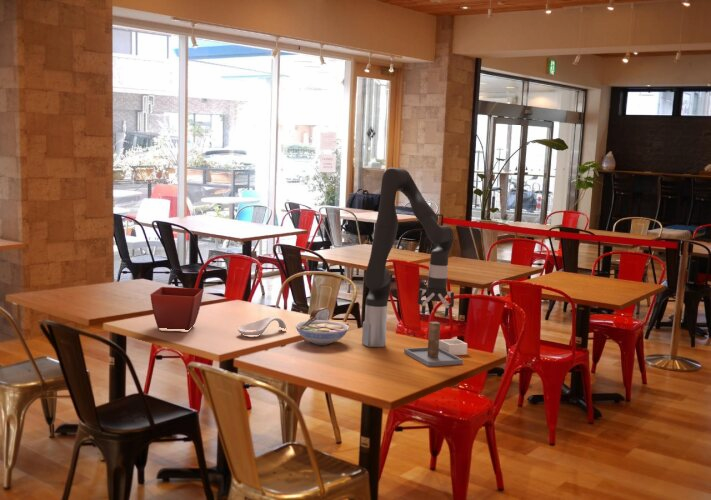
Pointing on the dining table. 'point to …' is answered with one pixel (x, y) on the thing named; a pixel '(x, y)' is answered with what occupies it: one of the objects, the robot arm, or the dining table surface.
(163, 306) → the plant pot
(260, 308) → the dining table surface
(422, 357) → the tray
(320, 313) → the soup spoon
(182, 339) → the dining table surface
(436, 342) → the peg
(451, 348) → the square frame
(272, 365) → the dining table surface
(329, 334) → the ramen bowl
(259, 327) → the spoon rest
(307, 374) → the dining table surface
